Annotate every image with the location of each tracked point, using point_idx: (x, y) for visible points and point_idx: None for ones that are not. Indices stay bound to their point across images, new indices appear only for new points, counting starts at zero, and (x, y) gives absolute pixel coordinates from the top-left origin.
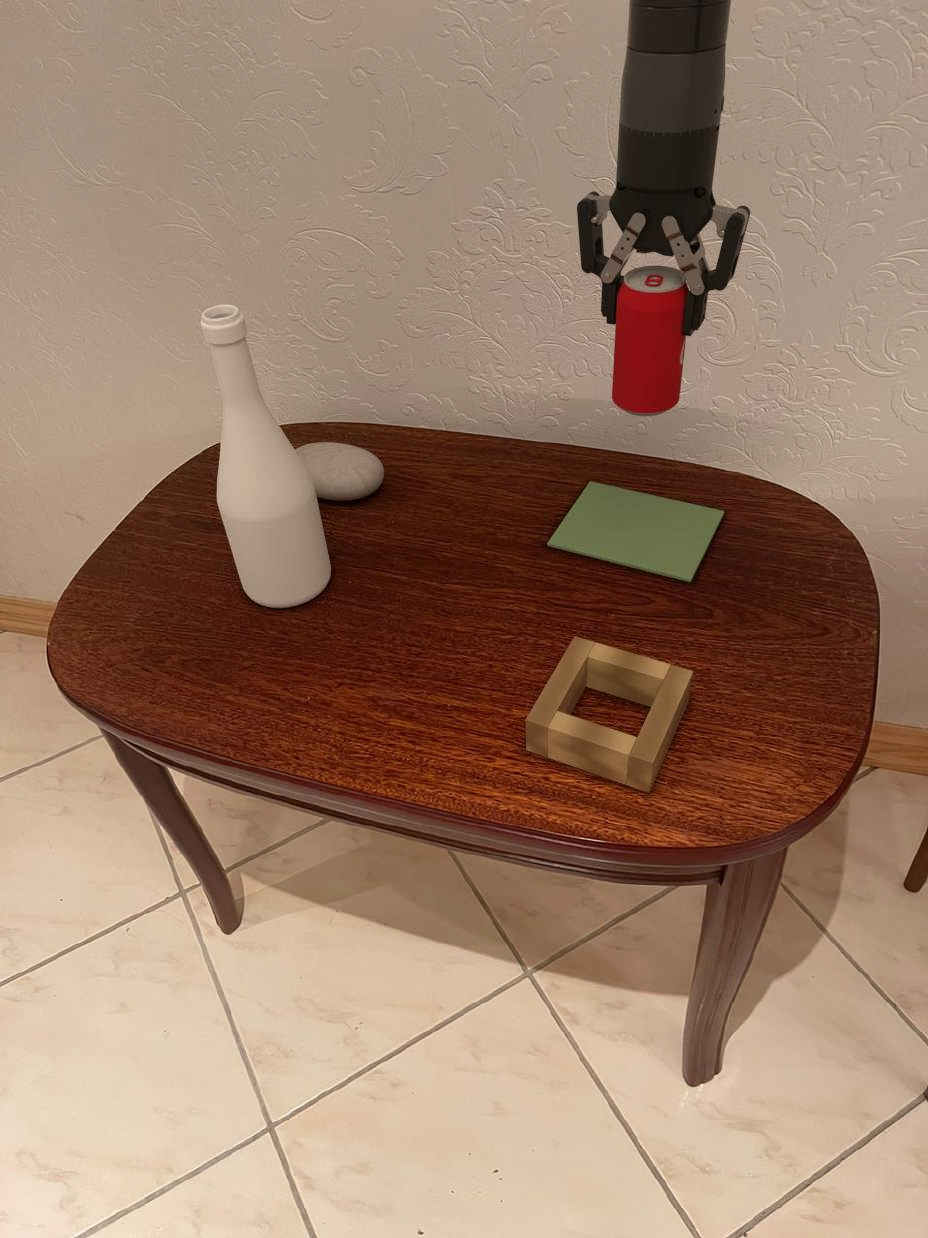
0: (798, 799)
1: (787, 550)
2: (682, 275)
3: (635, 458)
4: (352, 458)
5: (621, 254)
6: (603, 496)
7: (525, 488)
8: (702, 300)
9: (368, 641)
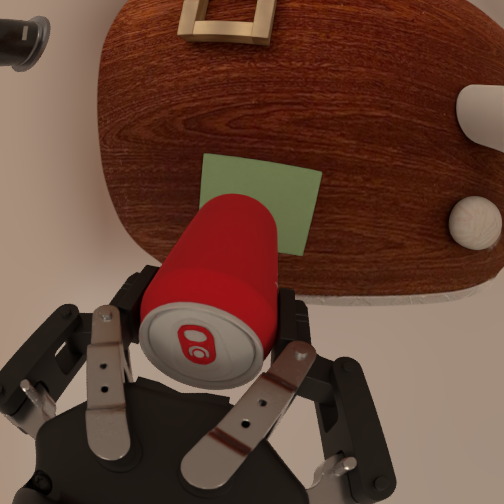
0: (125, 11)
1: (151, 207)
2: (158, 363)
3: None
4: (473, 227)
5: (265, 389)
6: (288, 239)
7: (350, 240)
8: (111, 302)
9: (414, 55)
